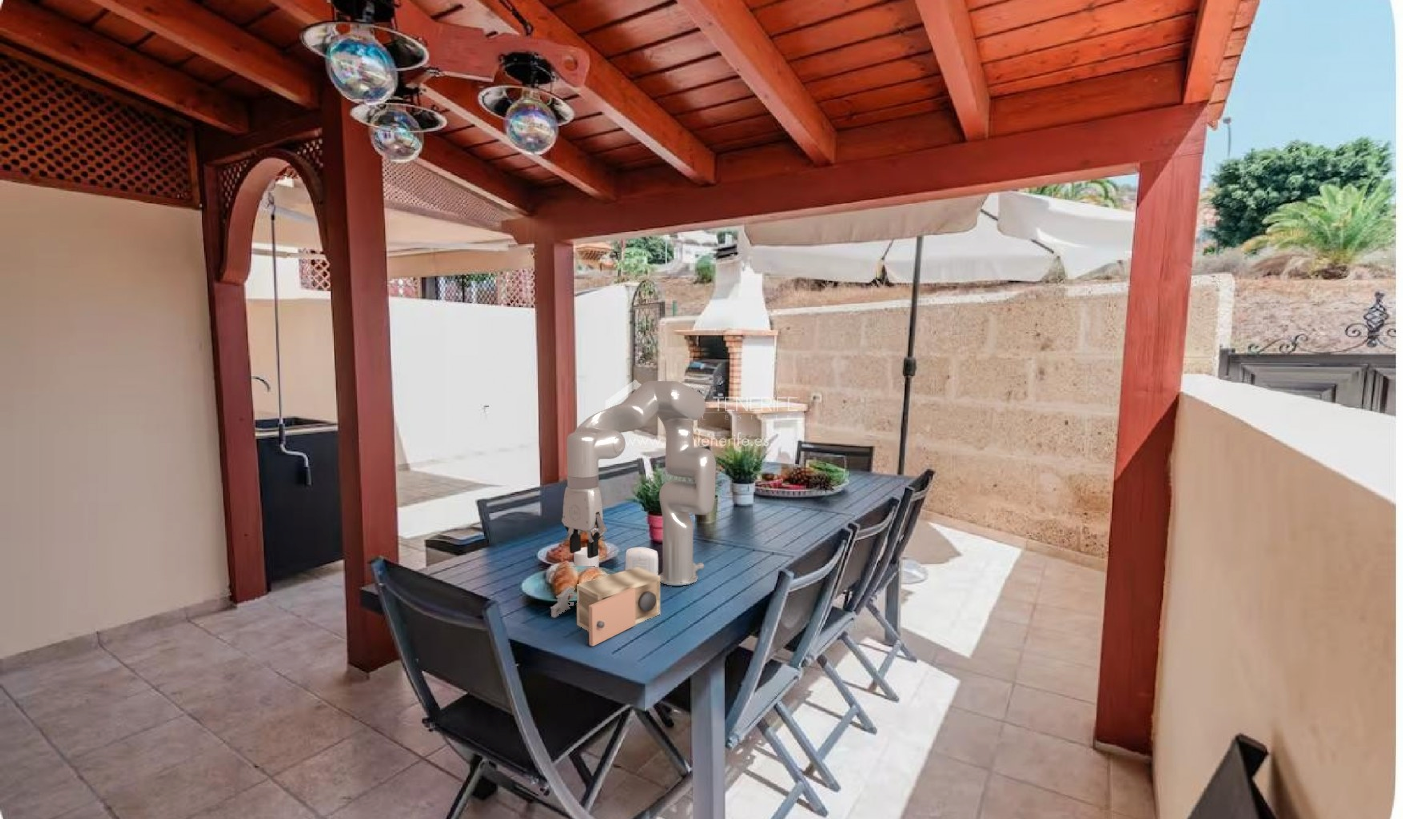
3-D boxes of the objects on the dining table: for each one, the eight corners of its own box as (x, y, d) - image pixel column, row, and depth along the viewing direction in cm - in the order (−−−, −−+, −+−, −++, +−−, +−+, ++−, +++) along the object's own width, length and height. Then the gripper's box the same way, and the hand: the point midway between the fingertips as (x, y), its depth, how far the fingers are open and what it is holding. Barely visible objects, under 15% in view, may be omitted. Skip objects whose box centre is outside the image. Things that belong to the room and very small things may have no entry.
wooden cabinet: (638, 604, 178) (637, 566, 177) (663, 616, 170) (663, 577, 169) (577, 625, 165) (576, 584, 164) (601, 639, 156) (601, 596, 155)
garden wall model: (555, 618, 169) (555, 597, 168) (549, 617, 169) (549, 596, 169) (579, 602, 180) (579, 582, 179) (574, 601, 181) (574, 581, 180)
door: (632, 624, 164) (631, 587, 163) (638, 626, 163) (638, 589, 162) (589, 645, 152) (588, 605, 151) (596, 647, 151) (595, 608, 150)
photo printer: (659, 586, 193) (659, 546, 192) (656, 591, 188) (655, 550, 187) (627, 583, 195) (627, 544, 194) (623, 588, 191) (623, 548, 189)
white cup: (601, 577, 200) (600, 546, 199) (597, 586, 192) (597, 554, 191) (576, 577, 200) (575, 547, 199) (571, 586, 192) (571, 555, 191)
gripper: (548, 480, 156) (549, 551, 158) (596, 489, 146) (597, 565, 148) (571, 476, 162) (572, 544, 164) (619, 484, 152) (619, 557, 154)
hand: (584, 553), depth 156 cm, fingers open, 5 cm apart
